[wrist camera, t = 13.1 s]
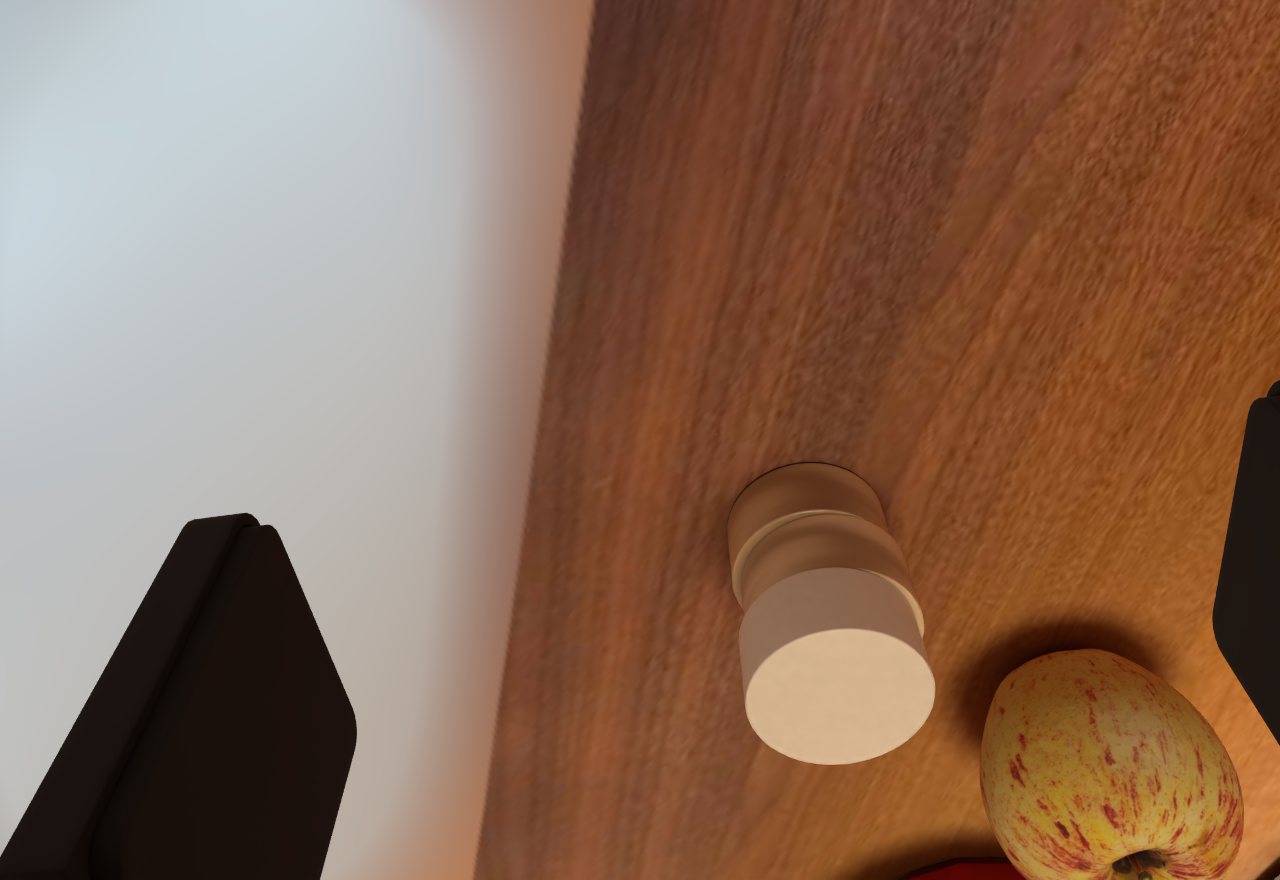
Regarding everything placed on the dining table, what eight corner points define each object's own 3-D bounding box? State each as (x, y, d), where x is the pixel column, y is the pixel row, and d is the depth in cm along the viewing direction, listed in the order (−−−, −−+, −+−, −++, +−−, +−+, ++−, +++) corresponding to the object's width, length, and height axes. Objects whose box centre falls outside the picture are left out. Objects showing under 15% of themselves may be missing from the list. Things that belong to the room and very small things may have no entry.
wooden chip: (748, 707, 39) (755, 774, 37) (729, 578, 36) (735, 641, 33) (918, 689, 39) (937, 755, 36) (913, 556, 35) (934, 618, 33)
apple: (942, 762, 49) (1003, 973, 41) (959, 609, 45) (1032, 813, 36) (1148, 753, 49) (1252, 964, 41) (1188, 598, 44) (1316, 801, 36)
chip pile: (736, 599, 44) (748, 709, 39) (717, 472, 41) (728, 576, 36) (894, 580, 44) (926, 690, 39) (888, 451, 40) (922, 552, 35)
